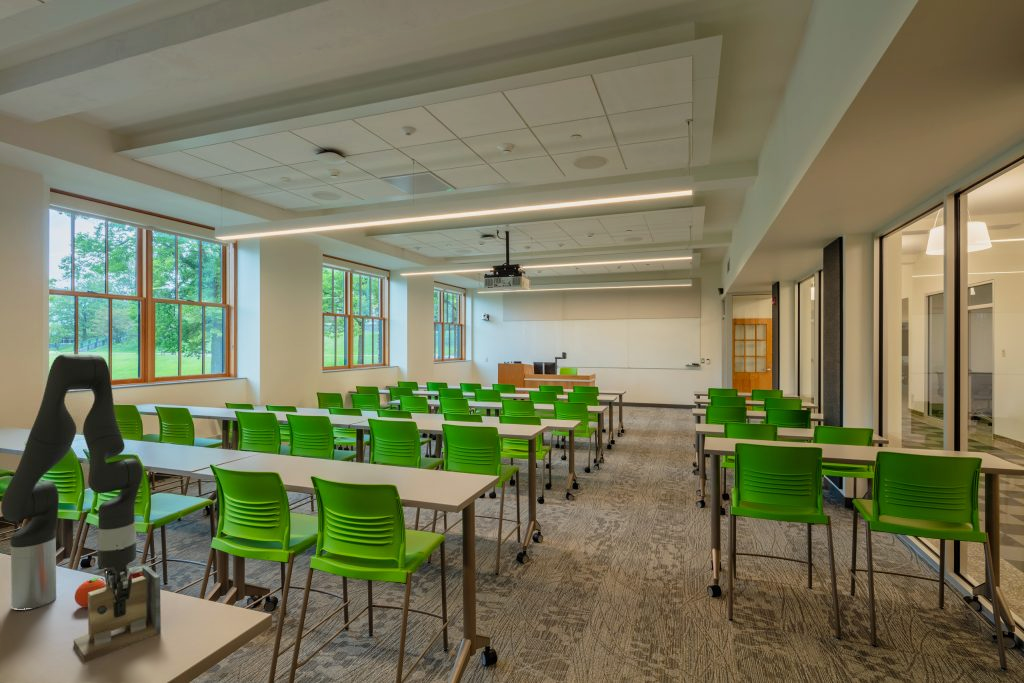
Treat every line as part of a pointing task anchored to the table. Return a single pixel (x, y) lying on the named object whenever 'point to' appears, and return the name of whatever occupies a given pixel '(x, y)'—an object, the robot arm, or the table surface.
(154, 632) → the cabinet base
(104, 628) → the cabinet door
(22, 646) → the table surface
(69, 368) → the robot arm
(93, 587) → the clementine
